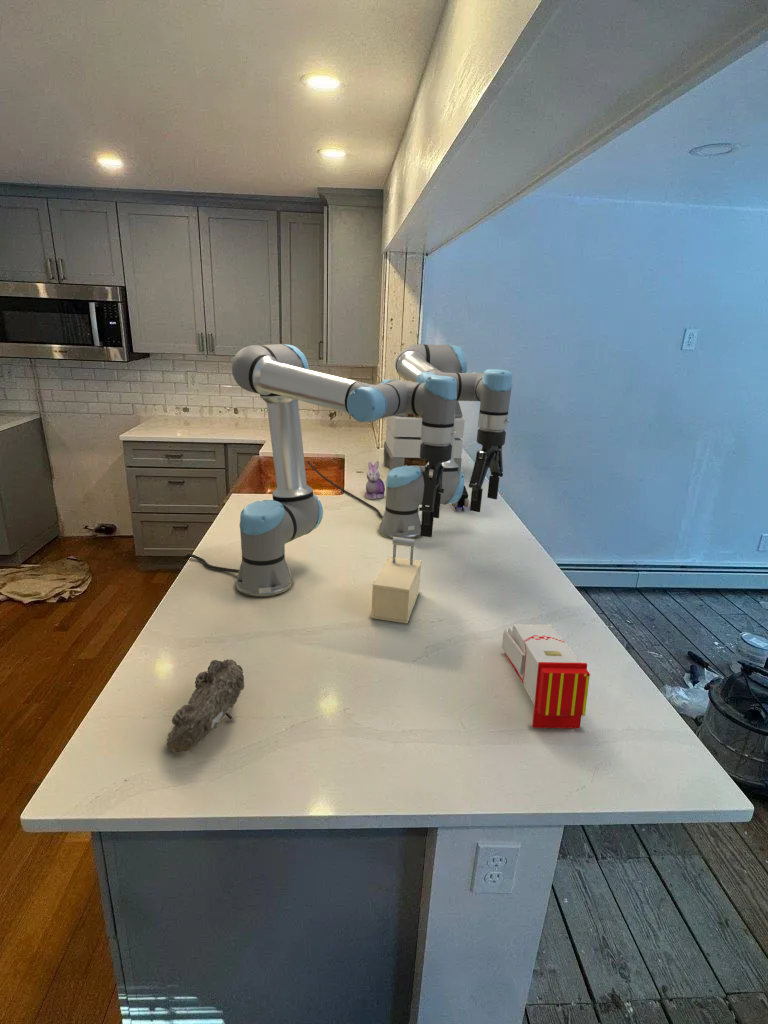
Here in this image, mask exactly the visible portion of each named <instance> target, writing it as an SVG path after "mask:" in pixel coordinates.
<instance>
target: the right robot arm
mask: <svg viewBox="0 0 768 1024" xmlns="http://www.w3.org/2000/svg"><path fill="white" fill-rule="evenodd" d="M394 367H395V370H396V372H397V374H398V376H399V377H400V378H401V379H403V380H404V381H408V382H415V383H424V382H425V378H426V377H427V376H430V375H439V376H450V377H453V378H455V379H456V381H457V400H456V401H458V402H479V404H480V405H479V412H478V422H477V428H478V429H477V433H476V443H477V444H479V445H481V450H477V451H476V454H475V455H476V456H475V461H474V463H473V464H474V465H473V469H472V471H471V476H470V480H469V484H468V488H470V489H471V494H470V503H469V511H470V512H475V513H481V508H482V499H483V491H484V490H483V485H484V481H485V478H486V476H487V472H488V470H489V471H490V475H489V478H488V485H487V486H488V487H487V489H488V490H487V495H486V496H487V497H486V498H487V499H492V500H498V494H499V487H500V486H499V485H500V478H503V476H504V473H503V472H504V467H503V446H504V445H505V444H506V436H507V432H506V430H507V426H508V423H509V422H510V419H509V418H508V417H509V409H510V401H511V396H512V395H511V394H512V388H513V373H512V372H511V371H510V370H507V369H501V368H499V369H498V368H496V369H495V368H488V369H485V370H484V371H474V372H468V362H467V356H466V353H465V351H464V349H462V347H461V346H459V345H451V344H424V343H418V344H412V345H409V346H407V347H405V348H403V349H402V350H400V352H399V353H398V354H397V356H396V358H395V362H394ZM452 430H455V417H454V428H453V429H452ZM450 444H451V445H452V454H451V459H450V460H449V461H447V462H443V466H444V469H443V475H442V485H443V486H442V488H441V489H444V493H439V494H441V500H440V505H452V504H453V503H456V502H458V501H459V499H460V498H461V496H462V493H463V489H464V486H465V478H464V477H465V475H464V473H463V472H462V470H461V471H459V470H458V465H457V464H456V463H455V461H454V445H455V434H453V440H452V443H450ZM306 463H307V464H308V465H309V467H311V468H312V469H313V470H314V471H315V472H316V474H318V475H319V476H320V477H321V478H322V479H324V480H326V482H328V483H329V484H331V485H332V486H334V487H335V488H337V489H339V490H340V491H342V492H344V493H345V494H347V495H348V496H350V497H352V498H354V499H355V500H357V501H359V502H360V503H362V504H364V505H366V506H367V507H369V508H371V509H372V510H374V511H375V512H376V513H377V515H378V517H379V518H381V522H379V526H378V533H379V534H380V535H381V536H382V537H385V538H387V539H389V540H393V537H400V538H407V539H415V540H416V539H418V538H420V537H421V536H420V535H421V518H420V515H419V507H420V506H422V501H423V493H424V485H425V476H426V474H425V469H426V467H427V465H429V462H428V463H427V464H426V465H425V466H424V470H423V471H422V469H421V467H420V466H407V465H404V466H402V467H397V468H394V469H392V470H390V469H389V470H388V472H387V475H386V480H385V504H384V505H385V507H384V508H385V509H384V513H383V515H382V514H381V512H380V510H379V509H378V508H376V507H375V506H373V505H372V504H370V503H369V502H367V501H365V500H363V499H361V498H360V497H358V496H356V495H354V494H353V493H351V492H349V491H347V490H346V489H344V488H342V487H340V486H339V485H338V484H336V483H334V482H333V481H331V480H330V479H329V478H327V477H326V476H325V475H323V474H322V473H321V472H320V471H319V470H318V469H317V468H316V467H315V466H314V465H313V464H312V463H311V462H310V461H308V460H307V462H306Z"/></svg>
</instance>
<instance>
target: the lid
mask: <svg viewBox="0 0 768 1024" xmlns="http://www.w3.org/2000/svg"><path fill="white" fill-rule="evenodd" d="M392 545H393V546H392V556H387V558H386V560H385V562H384V564H383V565H382V567H381V569H380V570H379V572H378V574H377V576H376V578H375V580H374V581H373V584H372V588H373V587H375V588H382V589H389V590H395V591H402V592H410V589H411V587H412V584H413V582H414V580H415V577H416V575H417V572H418V570H419V567H420V565H421V566H422V560H419V559H414V552H415V551H414V549H415V546H416V538H415V539H407V538H400V537H393V539H392ZM397 546H404V547H409V548H410V552H409V553H410V555H409V558H404V557H397Z"/></svg>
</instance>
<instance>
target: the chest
mask: <svg viewBox="0 0 768 1024" xmlns="http://www.w3.org/2000/svg"><path fill="white" fill-rule="evenodd" d="M421 567H422V564H421V565H420V567H419V570H418V572H417V575H416V577H415V580H414V582H413V584H412V587H411V589H410V592H402V591H395V590H389V589H382V588H375V587H373V586H372V594H371V595H372V596H371V598H372V599H371V616H370V617H371V619H374V620H381V621H388V622H395V623H400V624H405V625H407V624H408V622H409V619H410V618H411V615H412V612H413V609H414V607H415V603H416V602H417V598H418V596H419V594H420V583H421V581H420V580H421Z"/></svg>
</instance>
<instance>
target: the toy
mask: <svg viewBox="0 0 768 1024" xmlns="http://www.w3.org/2000/svg"><path fill="white" fill-rule="evenodd" d="M507 629H508V630H507ZM507 629H503V633H502V640H501V649H502V650H503V652H504V656H505V657H506V659H507V660H508V662H509V664H510V665H511V667H512V669H513V671H514V672H515V673H516V675H517V676H518V678H519V679H520V681H521V683H522V684H523V687H524V688H525V690H526V692H527V694H528V696H529V698H530V700H531V702H532V704H533V715H532V726H531V727H532V728H533V729H581V723H582V717H585V716H586V710H587V701H588V695H589V694H588V693H589V685H590V677H591V674H590V672H589V671H588V663H587V662H581V660H580V659H579V658H578V657H577V655H576V654H575V652H573V651H572V649H571V647H570V646H569V645H568V644H567V643H566V641H565V640H564V639H563V638H562V636H561V635H560V634H559V632H558V630H556V629H555V627H554V626H553V624H539V623H538V624H536V623H535V624H532V623H531V624H530V623H512V625H511V626H510V625H508V628H507Z"/></svg>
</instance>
